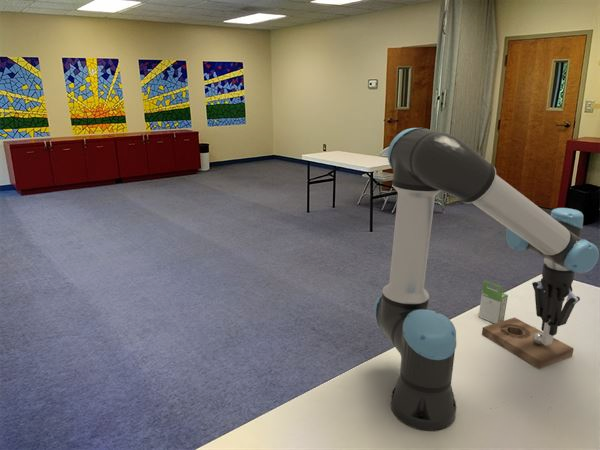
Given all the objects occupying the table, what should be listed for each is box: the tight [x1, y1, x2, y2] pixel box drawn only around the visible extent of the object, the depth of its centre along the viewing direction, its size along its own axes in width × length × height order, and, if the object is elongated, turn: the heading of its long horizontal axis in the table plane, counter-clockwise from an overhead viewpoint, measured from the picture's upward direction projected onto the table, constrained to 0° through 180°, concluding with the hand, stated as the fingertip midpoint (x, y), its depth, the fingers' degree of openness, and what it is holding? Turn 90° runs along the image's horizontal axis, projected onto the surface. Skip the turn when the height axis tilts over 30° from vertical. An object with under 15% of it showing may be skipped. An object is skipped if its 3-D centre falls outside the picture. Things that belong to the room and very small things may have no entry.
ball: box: [533, 333, 543, 345], centre depth 133 cm, size 3×3×3 cm
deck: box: [481, 317, 574, 370], centre depth 137 cm, size 20×14×2 cm
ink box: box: [478, 280, 509, 324], centre depth 150 cm, size 7×4×13 cm, turn 37°
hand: (546, 343), depth 131 cm, fingers closed
